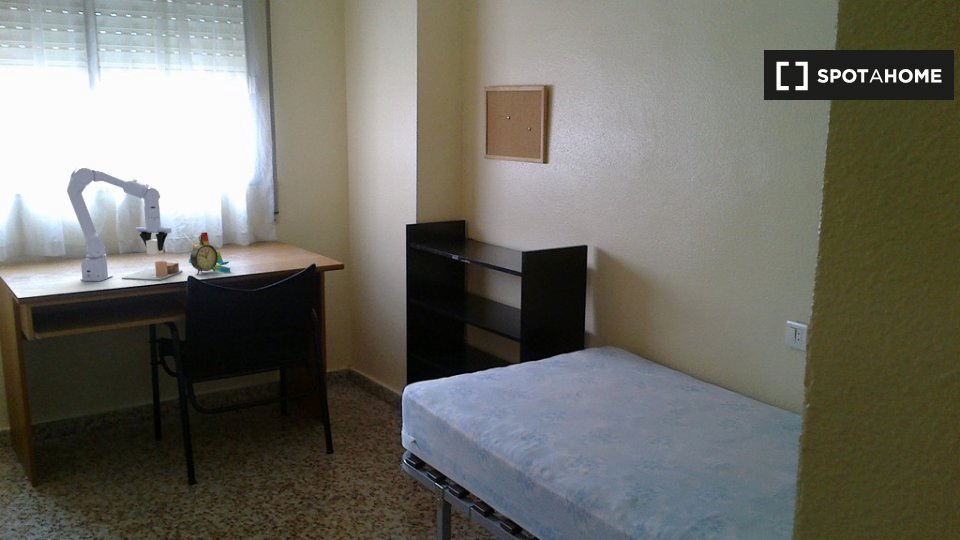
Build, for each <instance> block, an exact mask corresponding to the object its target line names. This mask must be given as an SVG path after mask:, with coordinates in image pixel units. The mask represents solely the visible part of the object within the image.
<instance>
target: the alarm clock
mask: <svg viewBox="0 0 960 540" xmlns="http://www.w3.org/2000/svg"><path fill="white" fill-rule="evenodd" d="M201 235H203V234H201V233H200V235H199V237H198V241H199V243H200V242H201V245H199V244H196V245H197V246H196V247H195V248H194V249H193V248H192V250H191V252H190V253H191V255H189V256H190V257H189V259H190V261H191V263H190V264H191V266H192V267H193V269H195V270H197V273H196V275H197V276H199V274H200V273H202V272H210V271H212V270H213V272H216V270H214V267H215V266H216V264H218V263H217V260H218V255H217V252H218V251H217V250H216V248H215V247H214V246H213V245H210V244H209V245H204V243H203V242H204V241H205V240H204V241H200V238H201ZM204 237H205V235H204Z"/></svg>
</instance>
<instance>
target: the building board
mask: <svg viewBox="0 0 960 540" xmlns="http://www.w3.org/2000/svg"><path fill="white" fill-rule="evenodd" d="M181 273H183V270H180V269H179V272H176V273H173V274H168V276H165V277H157V276H156V270H155V268H145V269H143V270H139V271H137V272H134V273H131V274H128V275H125V276H122V277H121V280H136V281H153V282H154V281H155V282H156V281H157V282H158V281H159V282H160V281H163V280H165V279H168V278H171V277H174V276H176V275H179V274H181Z"/></svg>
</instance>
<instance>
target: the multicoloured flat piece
mask: <svg viewBox="0 0 960 540" xmlns="http://www.w3.org/2000/svg"><path fill="white" fill-rule="evenodd" d="M201 234H203V235H201ZM200 235H201V236H200V241H204V240H205V241H204V242H203V243H204V245H210V240H209V235H208V232H207V231H205V232H201V233H200ZM204 235H205V237H204ZM200 241H199V244H194V245H193V246H192V250H193V249H194V248H195V247H196V246H197V245H201V242H200ZM188 255H189V256H190V255H191V252H189V253H188ZM217 255H218V260H217V264H216V266H215V267H214V270H215V272H216V271H217V272H219V273H224V274H226V273H231V267H227V266H225V265H228V264H229V263H230V261H228V260H227V261H223V257H222V255H221V252H220V251H217ZM188 263H189V264H191V261H190V258H188ZM214 270H213V271H214Z"/></svg>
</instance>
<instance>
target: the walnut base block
mask: <svg viewBox="0 0 960 540" xmlns="http://www.w3.org/2000/svg"><path fill="white" fill-rule="evenodd" d="M179 267H180V266H179V262H167V272H168V274H173V273H176V272H179V270H180V268H179Z"/></svg>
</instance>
